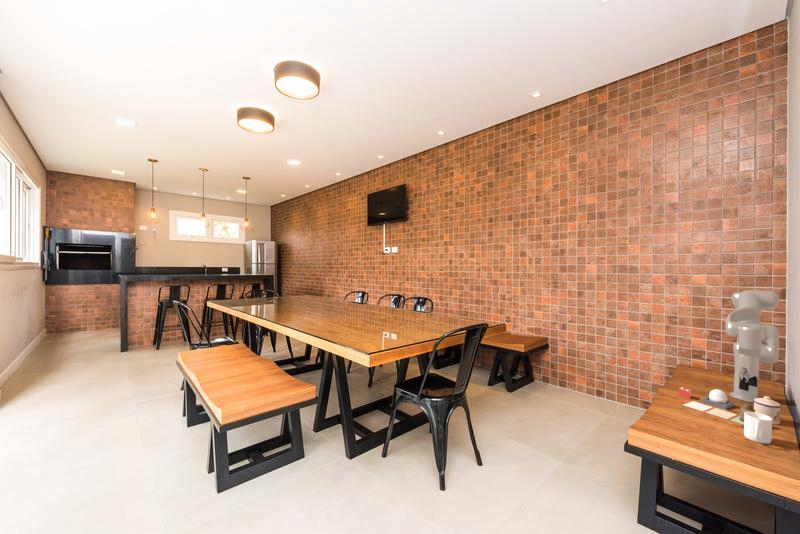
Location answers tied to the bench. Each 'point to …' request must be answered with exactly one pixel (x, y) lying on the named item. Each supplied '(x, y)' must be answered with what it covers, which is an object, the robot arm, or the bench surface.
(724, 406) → the dome housing
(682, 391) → the red die
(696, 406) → the game board
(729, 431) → the bench surface
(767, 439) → the cup
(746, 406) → the pawn
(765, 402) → the teacup with lid
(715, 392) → the dome
